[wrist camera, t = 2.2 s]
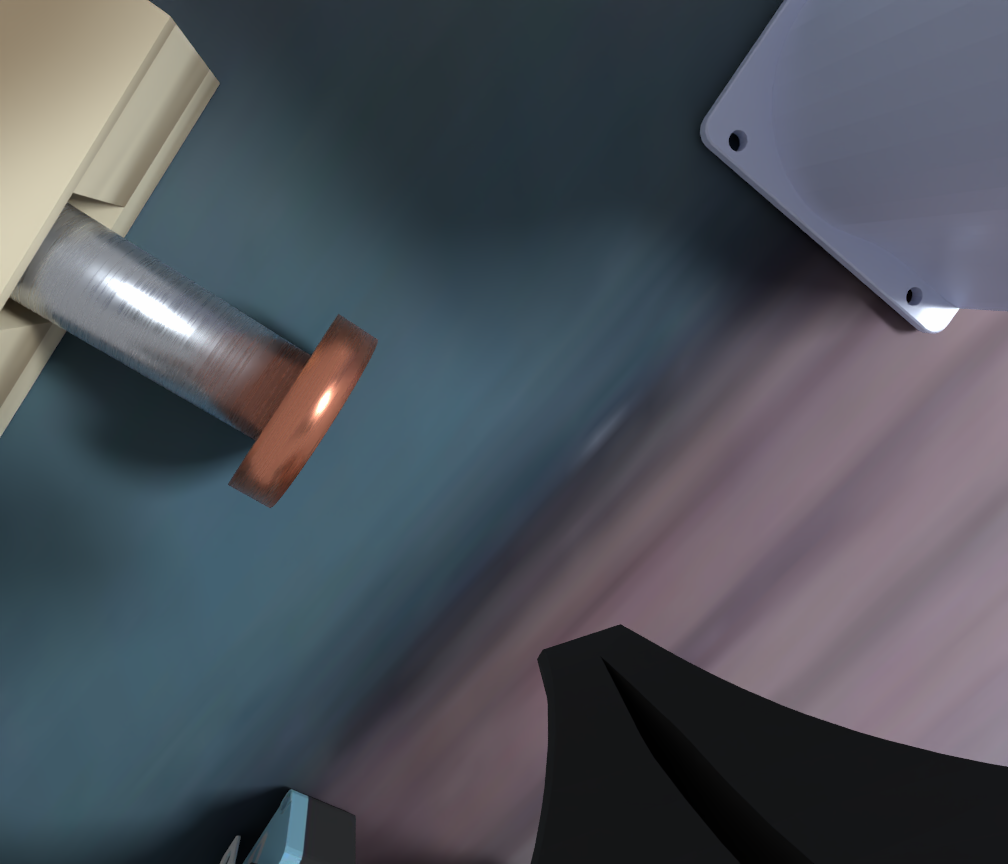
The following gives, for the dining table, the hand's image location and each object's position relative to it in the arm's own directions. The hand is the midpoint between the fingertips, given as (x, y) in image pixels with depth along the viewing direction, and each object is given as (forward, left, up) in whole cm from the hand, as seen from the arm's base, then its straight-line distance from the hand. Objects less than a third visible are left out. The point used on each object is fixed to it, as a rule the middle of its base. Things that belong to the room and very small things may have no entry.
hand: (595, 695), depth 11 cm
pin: (+11, 0, -9) cm, 14 cm away
